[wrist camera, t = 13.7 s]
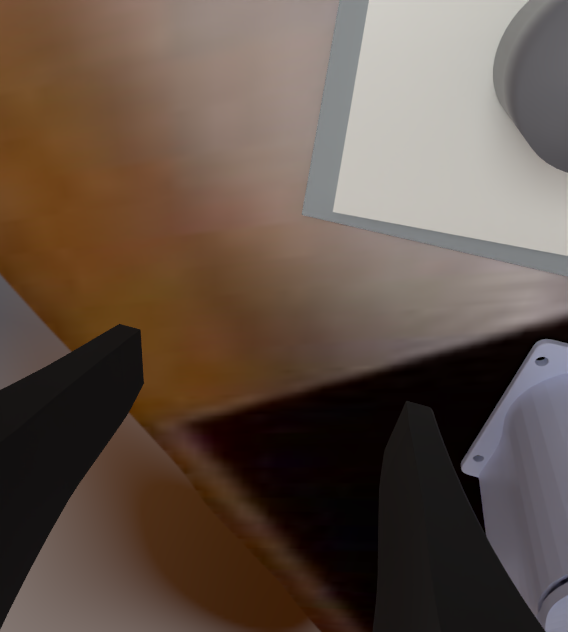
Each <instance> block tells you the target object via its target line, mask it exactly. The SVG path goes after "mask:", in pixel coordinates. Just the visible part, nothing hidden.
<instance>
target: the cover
mask: <svg viewBox="0 0 568 632" xmlns="http://www.w3.org/2000/svg"><path fill="white" fill-rule="evenodd" d="M333 212H335V213H341V214H346V215H351V216H357V217H362V218H367V219H373V220H378V221H384V222H389V223H394V224H400V225H405V226H410V227H416V228H421V229H426V230H432V231H437V232H442V233H448V234H453V235H458V236H464V237H469V238H474V239H480V240H485V241H490V242H496V243H501V244H507V245H512V246H517V247H523V248H528V249H533V250H539V251H544V252H549V253H555V254H560V255H565V256H568V0H369V3H368V9H367V15H366V21H365V26H364V32H363V38H362V44H361V50H360V56H359V62H358V67H357V73H356V79H355V85H354V91H353V97H352V102H351V108H350V114H349V120H348V126H347V132H346V137H345V143H344V149H343V155H342V161H341V167H340V172H339V178H338V184H337V190H336V196H335V202H334V207H333Z"/></svg>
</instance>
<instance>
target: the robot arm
mask: <svg viewBox="0 0 568 632" xmlns="http://www.w3.org/2000/svg"><path fill="white" fill-rule="evenodd" d="M539 357H546V358H545V359H543V360H536V359H537V358H539ZM143 384H144V379H143V363H142V348H141V332H140V329H136V328H132V327H129V326H125V325H121V324H119V325H117V326H115V327H113V328H112V329H110V330H108V331H106V332H105V333H103V334H101V335H100V336H98V337H96V338H95V339H93V340H91V341H89V342H88V343H86V344H84V345H83V346H81V347H79V348H78V349H76V350H74V351H73V352H71V353H69V354H67V355H66V356H64V357H62V358H60V359H58V360H57V361H55V362H53V363H51V364H50V365H48V366H46V367H44V368H42V369H40V370H38V371H37V372H35V373H33V374H31V375H29V376H27V377H25V378H23V379H21V380H19V381H17V382H15V383H14V384H11V385H10V386H8V387H6V388H3V389H1V390H0V629H1V627H2V624H3V622H4V620H5V618H6V616H7V614H8V612H9V610H10V608H11V606H12V604H13V602H14V600H15V598H16V596H17V594H18V592H19V590H20V588H21V586H22V584H23V582H24V580H25V578H26V576H27V574H28V572H29V571H30V569H31V567H32V565H33V563H34V561H35V559H36V557H37V555H38V554H39V552H40V550H41V548H42V546H43V544H44V543H45V541H46V539H47V537H48V535H49V533H50V532H51V530H52V528H53V526H54V525H55V523H56V521H57V519H58V518H59V516H60V514H61V512H62V511H63V509H64V507H65V505H66V503H67V502H68V500H69V498H70V497H71V495H72V494H73V492H74V491H75V489H76V487H77V486H78V484H79V483H80V481H81V480H82V479H83V477H84V476H85V474H86V473H87V472H88V470H89V469H90V467H91V466H92V465H93V463H94V462H95V460H96V459H97V457H98V456H99V455H100V453H101V452H102V450H103V449H104V448H105V446H106V445H107V443H108V441H110V439H111V438H112V436H113V435H114V433H115V432H116V430H117V429H118V428H119V426H120V425H121V423H122V422H123V420H124V419H125V417H126V416H127V414H128V412H129V411H130V409H131V407H132V405H133V403H134V401H135V400H136V398H137V396H138V394H139V392H140V390H141V388H142V386H143ZM476 455H480V456H476ZM461 469H462V471H463V472H464V473H466V474H468V475H471V476H475V477H479V483H480V491H481V498H482V506H483V514H484V522H485V530H486V535H485V533H484V531H483V529H482V527H481V525H480V523H479V521H478V519H477V517H476V515H475V513H474V511H473V509H472V507H471V505H470V503H469V501H468V499H467V497H466V494H465V492H464V490H463V488H462V485H461V483H460V481H459V478H458V476H457V474H456V472H455V469H454V467H453V465H452V462H451V460H450V457H449V455H448V452H447V449H446V447H445V444H444V442H443V439H442V436H441V433H440V431H439V428H438V425H437V422H436V419H435V416H434V413H433V411H432V409H431V408H430V407H427V406H423V405H420V404H416V403H412V402H408V401H406V403H405V405H404V407H403V409H402V412H401V414H400V416H399V419H398V421H397V423H396V425H395V428H394V430H393V432H392V434H391V437H390V439H389V441H388V443H387V446H386V448H385V450H384V456H383V464H382V471H381V479H380V487H379V530H378V582H377V598H376V607H375V616H374V625H373V632H568V343H564V342H560V341H556V340H552V339H543V340H540V341H538V342H536V343H535V344H534V346H533V347H532V349H531V350H530V352H529V354H528V355H527V357H526V358H525V360H524V362H523V363H522V365H521V367H520V368H519V370H518V371H517V373H516V375H515V376H514V378H513V379H512V381H511V383H510V384H509V386H508V387H507V389H506V391H505V392H504V394H503V396H502V397H501V399H500V400H499V402H498V404H497V405H496V407H495V408H494V410H493V412H492V413H491V415H490V416H489V418H488V420H487V421H486V423H485V425H484V426H483V428H482V429H481V431H480V433H479V434H478V436H477V437H476V439H475V441H474V442H473V444H472V445H471V447H470V449H469V450H468V452H467V454H466V455H465V457H464V458H463V460H462V462H461Z"/></svg>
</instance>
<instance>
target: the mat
mask: <svg viewBox="0 0 568 632" xmlns="http://www.w3.org/2000/svg"><path fill="white" fill-rule="evenodd" d="M368 3H369V0H340V1H339V7H338V12H337V18H336V24H335V29H334V35H333V41H332V46H331V52H330V58H329V64H328V69H327V75H326V81H325V86H324V92H323V98H322V103H321V109H320V115H319V120H318V126H317V132H316V137H315V143H314V149H313V154H312V160H311V166H310V171H309V177H308V183H307V188H306V194H305V200H304V205H303V211H302V215H305V216H309V217H314V218H318V219H322V220H327V221H331V222H335V223H340V224H344V225H348V226H352V227H357V228H361V229H365V230H370V231H374V232H378V233H383V234H387V235H391V236H395V237H400V238H404V239H408V240H413V241H417V242H421V243H426V244H430V245H434V246H439V247H443V248H447V249H451V250H456V251H460V252H464V253H469V254H473V255H477V256H482V257H486V258H490V259H494V260H499V261H503V262H507V263H512V264H516V265H520V266H525V267H529V268H533V269H538V270H542V271H546V272H550V273H555V274H559V275H563V276H568V256H565V255H560V254H555V253H549V252H544V251H539V250H533V249H528V248H523V247H517V246H512V245H507V244H501V243H496V242H490V241H485V240H480V239H474V238H469V237H464V236H458V235H453V234H448V233H442V232H437V231H432V230H426V229H421V228H416V227H410V226H405V225H400V224H394V223H389V222H384V221H378V220H373V219H367V218H362V217H357V216H351V215H346V214H341V213H335V212H333V207H334V202H335V196H336V190H337V184H338V178H339V172H340V167H341V161H342V155H343V149H344V143H345V137H346V132H347V126H348V120H349V114H350V108H351V102H352V97H353V91H354V85H355V79H356V73H357V67H358V62H359V56H360V50H361V44H362V38H363V32H364V26H365V21H366V15H367V9H368Z"/></svg>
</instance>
